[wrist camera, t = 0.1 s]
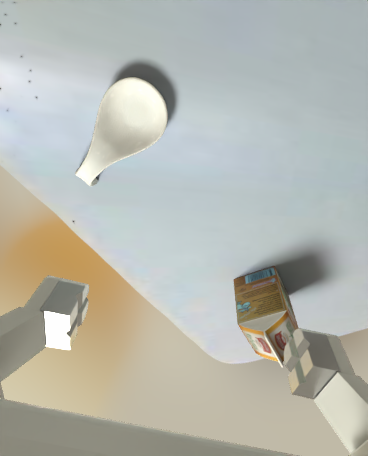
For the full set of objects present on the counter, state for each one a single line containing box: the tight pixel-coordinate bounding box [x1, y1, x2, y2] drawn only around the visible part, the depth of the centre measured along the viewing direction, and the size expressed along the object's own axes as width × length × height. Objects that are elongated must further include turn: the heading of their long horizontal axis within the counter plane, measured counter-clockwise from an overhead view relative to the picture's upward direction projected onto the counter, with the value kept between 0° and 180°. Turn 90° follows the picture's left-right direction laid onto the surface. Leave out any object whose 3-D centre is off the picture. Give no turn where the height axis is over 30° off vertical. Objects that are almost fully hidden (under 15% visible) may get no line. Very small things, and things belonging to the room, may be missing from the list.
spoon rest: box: [75, 77, 168, 186], centre depth 55 cm, size 24×12×7 cm, turn 139°
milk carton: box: [234, 266, 298, 368], centre depth 67 cm, size 10×11×19 cm
